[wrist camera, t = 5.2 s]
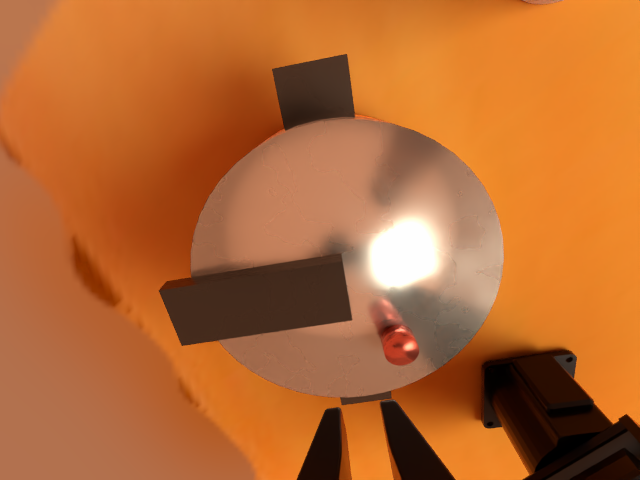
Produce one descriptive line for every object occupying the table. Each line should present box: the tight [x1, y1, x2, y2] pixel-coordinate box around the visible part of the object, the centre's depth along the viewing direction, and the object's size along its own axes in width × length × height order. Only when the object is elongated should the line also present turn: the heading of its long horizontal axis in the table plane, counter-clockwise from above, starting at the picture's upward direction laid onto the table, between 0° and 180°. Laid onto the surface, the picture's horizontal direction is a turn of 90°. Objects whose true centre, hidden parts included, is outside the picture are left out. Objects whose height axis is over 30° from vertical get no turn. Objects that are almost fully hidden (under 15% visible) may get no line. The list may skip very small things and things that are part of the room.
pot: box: [261, 54, 392, 405], centre depth 19 cm, size 18×14×5 cm
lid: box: [159, 118, 504, 397], centre depth 15 cm, size 14×15×2 cm
